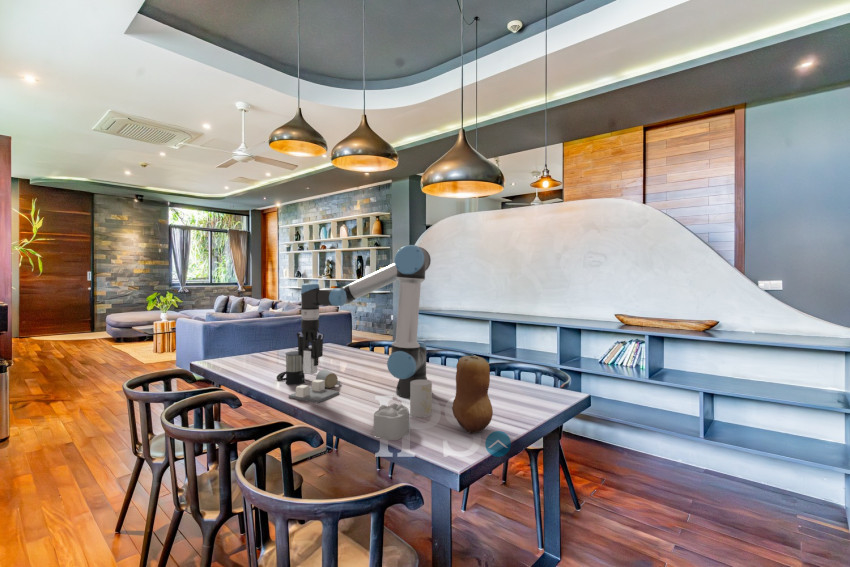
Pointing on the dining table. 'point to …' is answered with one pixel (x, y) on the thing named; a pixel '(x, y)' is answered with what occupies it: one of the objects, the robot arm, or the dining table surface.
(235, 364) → the dining table surface
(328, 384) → the ceramic mug
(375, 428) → the lumpy-topped squat cylinder
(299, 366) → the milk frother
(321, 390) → the board
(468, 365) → the butternut squash
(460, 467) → the dining table surface
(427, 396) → the cup
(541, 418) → the dining table surface
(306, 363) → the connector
